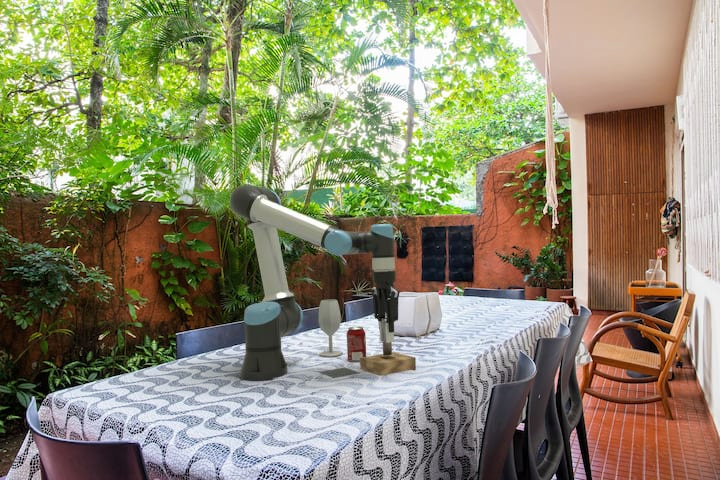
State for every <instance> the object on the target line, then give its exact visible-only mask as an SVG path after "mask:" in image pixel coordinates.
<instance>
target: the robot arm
mask: <svg viewBox="0 0 720 480" xmlns="http://www.w3.org/2000/svg"><path fill="white" fill-rule="evenodd" d="M229 206H230V208H231V211H232V212H233V213H234V214H235V215H236V216H238V217H240V218H242V219H245V220H246V225H247V228H248V229H250V230H251V231H252V234H253V240H254V244H255V251H256V255H257V261H258V266H259V271H260V275H261V281H262V288H263V292H264V298H263V299H262V300H261V302H256V303H252V304H250V305H248V306H247V307H245V309H244V316H243V322H244V340H245V355H244V356H243V357H244V358H243V361H242V365H241V368H240V378H241V379H243V380H247V381H269V380H274V379H276V378H277V379H278V378H280V377H283V376H286V375H287V374H288V364H287V362H286V359H285V357H284V354H283V350H282V337H284V336H290V335H291V334H293V333H294V332H296V331H297V330H298V329H299V328H300V327H301V325H302V323H303V320H304V313H303V310H302V308H301V306H300V305H299V304H298V303H297V302H296V298H295V294H293V293H292V292H291V291H290V289H289V286H288V285H289V284H288V280H287V274H286V270H285V265H284V264H285V263H284V260H283V259H284V258H283V253H282V249H281V243H280V239H279V233H278V230H280V231H283V232H285V233H288V234H290V235H293V236H295V237H296V238H299V239H301V240H304V241H306V242H309V243H310V244H313V245H315V246H319V247H321V248H323V249H325V250H327V252H328V253H330V254H332V255H335V256H343V255H348V256H349V255H359V254H361V255H362V254H371V259H372V261H371V264H372V265H371V267H372V271H373V272H372V281H373V283H374V284H375V288H374V289H371V290H370V291H371V292H370V293H371V296H372V305H373V315H374V319H376V320H377V321H378V330H379V342H382V320H381V318H387V321H385V325H386V343H390V342H392V343H394V342H395V322H397V321H399V298H400V290H396V289H395V286H394V283H395V282H396V280H397V278H396V271H395V269H396V260H395V258H396V257H395V236H394V227H393V225H392V224H389V223H380V224H372V225H371V226H370V230H366V231H347V230H343V229H341V228H340V229H339V228H337V227H335V226H333V225H330V224H328V223H325V222H323V221H320V220H318V219H316V218H313V217H312V216H308V215H306V214H303V213H301V212H299V211H296V210H294V209H291V208H289V207H286V206H284V205H282V201H281V198H280V197H279V195H278V193H276V192H275V191H273V190H272V189H270V188H267V187H261V186H256V185H251V184H243V185H239V186H237V187H235V188H234V189H233V191H231V194H230V197H229Z"/></svg>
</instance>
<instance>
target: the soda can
mask: <svg viewBox="0 0 720 480" xmlns="http://www.w3.org/2000/svg"><path fill="white" fill-rule="evenodd" d="M366 339H367V338H366V331H365V329H364V327H363V326H350V327H348V330H347V332H346V346H347V347H346V349H347V351H346V352H347V361H348V362H350V363H351V362H353V363H360V358H362V357H367V341H366Z"/></svg>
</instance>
